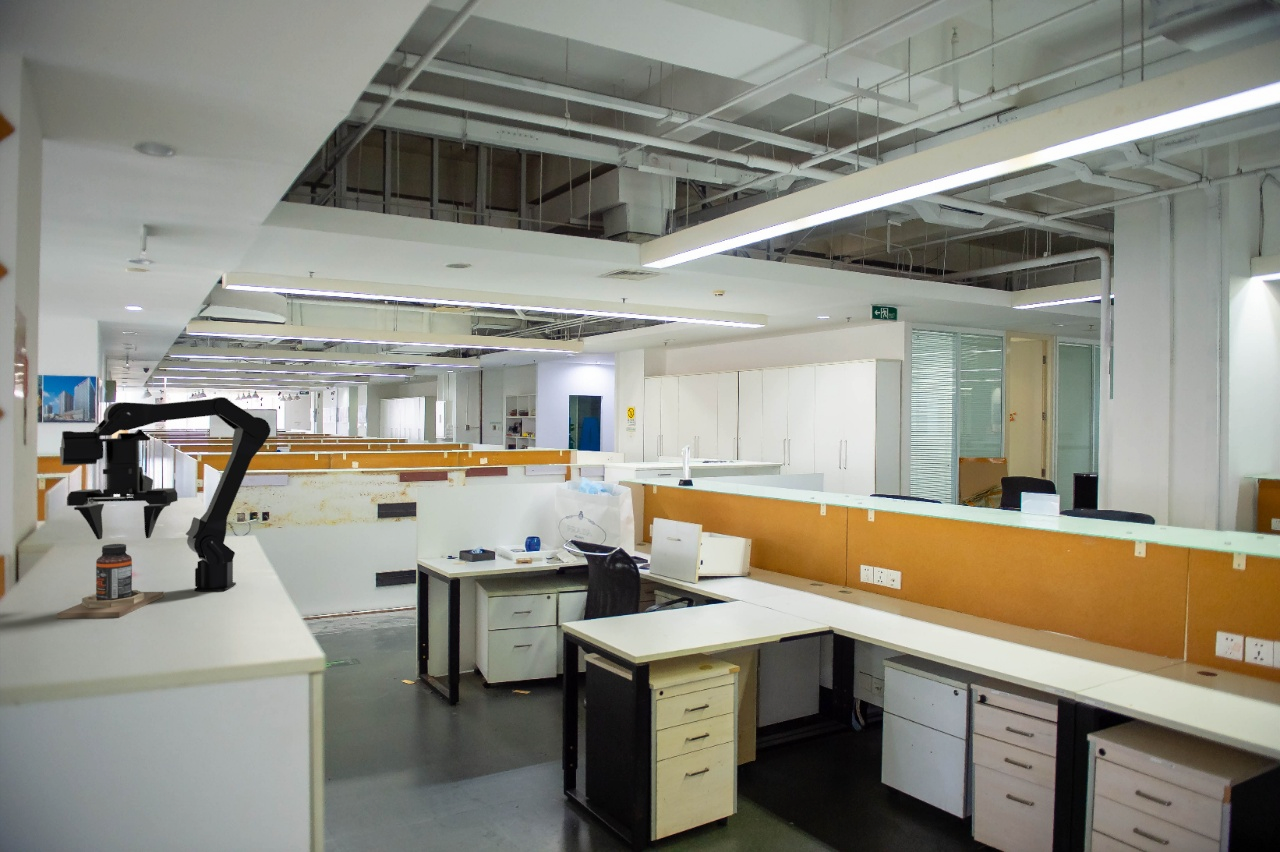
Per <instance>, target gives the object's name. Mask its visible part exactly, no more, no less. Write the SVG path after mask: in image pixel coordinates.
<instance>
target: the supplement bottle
mask: <svg viewBox="0 0 1280 852" xmlns="http://www.w3.org/2000/svg"><path fill="white" fill-rule="evenodd" d="M126 552H127V544H125V543H111V544H106V545H102V546H101V553H102V554H101V556H99V557H97V558H96V563H95V564H96V565H95V566H96V568H95V569H96V570H95V573H96V574H95V577H96V578H95V583H96V584H95V587H96V589H95V594H96V601H104V600H117V599H123V598H130V597H132V590H133V583H132V582H133V565H132V564H133V561H132V560H133V559H132V556H131V555H130V554H127V553H126Z"/></svg>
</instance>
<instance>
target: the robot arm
mask: <svg viewBox="0 0 1280 852" xmlns="http://www.w3.org/2000/svg"><path fill="white" fill-rule="evenodd" d="M210 416H216V417H218V418H219V419H221V420H222V421H223V422H224V423H225V424H226V425H227V426H229V427H230V428H232V429H233V430H234V431H233V435H232V444H231V445H232V446H231V453H230V456H229V457H228V461H227V463H226V465H225V468H224V470H223V472H222V475H221V477H220V478H219V479H220V480H219V481H218V485H217V486H216V489H215V491H214V493H213V495H212V498H211V500H210V503H209V505H208V507H207V509H206V512H204V514H203V515H202V516H201V517H200V518H197V517H195V516H194V517H193V518H192V519H191V524H190V528H189V529H188V531H187V532H186V533H185V535H186V536H187V539H186V543H187V546H188V548H189V549H190V550H191V551H192V552H194V553H196V554H197V557H198V559H199V561H197V567H195V568H194V586H195V587H194V588H193V591H194V592H210V591H211V592H213V591H214V592H215V591H217V592H218V591H219V592H220V591H221V592H222V591H227V590H229V589H230V588H232V587H234V586H236V585H237V582H236V581H235V582H234V580H233V579H234V568H233V567H234V557H235V555H236V552H235V551H234V550H232V549H231V548H230V547H228V546H227V544H224V543H225V539H226V534H227V523H228V516H229V514H230V511H231V510H232V507H233V505H234V502H235V500H236V498H237V495H238V493H239V490H240V488H241V486H242V483H243V481H244V479H245V476H246V474H247V471H248V469H249V466H250V464H251V462H252V459H253V458H254V456H256V454H257V453H258V452H259V451H260V450H261V449H262V447H263V446H264V444H265V443H266V441H267V440H268V438H269V437H270V435H271V431H272V430H271V426H270V424H269V422H268V420H267V421H266V419H264V418H262V417H258V416H253V414H251V413H249V412H248V411H246V410H245V409H243V408H241V407H239V406H238V405H236V404H235V403H233V402H232V401H231V400H230V399H229V398H228V397H222V396H219V397H213V398H206V399H198V400H197V399H196V400H188V401H175V402H165V403H143V402H141V403H140V402H124V401H123V402H114V403H111V404H110V405H108V406H107V407H106V408H105V409H104V412H103V419H102V421H101V422H100V423H99V424H98V425H97V426H95V429H93V431H72V430H63V431H62V433H61V441H60V443H61V445H60V447H59V457H60V465H61V466H78V465H80V466H81V465H84V466H85V465H97V462H98V460H102V459H104V442H105V468H104V469H103V468H102V475H105V477H106V478H105V479H106V482H105V483H106V484H105V485H106V488H104V489H103V490H101V489H100V488H97V489H96V488H95V489H94V488H93V489H92V488H91V489H88V488H87V489H79V490H78V489H77V490H73V491H70V492H69V493H68V495H67V496H66V506H67V507H68V506H70V507H72V506H74V507H73V510H75V511H79V512H80V514H81V516H82V517H83V518H84V519H85V520H86V522H87V523H88V525H89V527H90V528H91V530H92V532H93V534H94V536H95V538H96V539H97V540H102V539H103V532H104V531H103V517H102V511H103V508H104V505H105V504H104V502H146V503H147V504H148V505H144V506H143V520H144V521H143V522H144V525H143V526H144V535H145V539H150V538H151V537H152V534H153V532H154V529H155V526H156V524H157V520H158V518H159V516H160V515H161V512H163V510H164V509H165V507H169V506H171V504H172V503H174V502H178V492H177V490H176V489H175V488H174V487H172V488H171V487H167V488H166V487H163V488H159V487H158V488H153V484H154V479H153V478H151V477H149V476H148V475H145V474H144V469H143V467H142V466H140V441H142V442H143V441H144V442H146V441H151V437H150V436H148V435H147V434H146V433H145V432H144V431H143V429H138V428H141V427H145V426H148V425H151V424H154V423H158V422H163V421H172V420H183V419H192V418H202V417H210ZM134 429H137V430H136V431H135V432H120V433H118V434H117V437H115V438H112V437H111V438H110V437H109V436H112V435H114V434H115V433H117V432H119V431H130V430H134ZM102 436H105V437H106V436H108V437H109V438H101V437H102ZM115 495H119V496H115ZM99 502H100V503H99ZM101 502H103V503H101Z"/></svg>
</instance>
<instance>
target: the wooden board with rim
mask: <svg viewBox="0 0 1280 852" xmlns="http://www.w3.org/2000/svg"><path fill="white" fill-rule="evenodd" d="M164 596H165V591H140V590H137V589H132V597H130V598H123V599H117V600H104V601H96V593H92V594H90V595H86V596H85V597H82V598H81V603H79V604H77V605H74V606H71V607H69V608H65V609H64V610H61V611H59V612H57V613H56V618H57V619H86V618H87V619H90V618H91V619H95V618H96V619H98V618H100V619H101V618H120V617H123V616H125V615H127V614H129V613H132V612H133V611H135V610H138V609H140V608H142V607H144V606H146V605H148V604H150V603H152V602H155V601H157V600H160V599H161V598H163V597H164Z"/></svg>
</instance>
